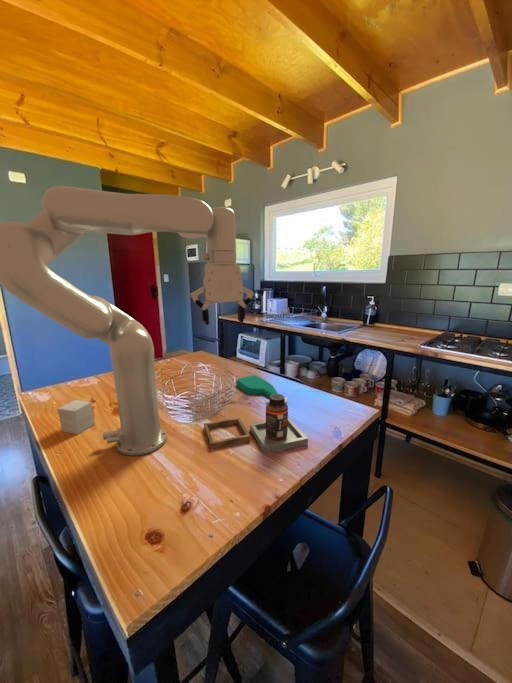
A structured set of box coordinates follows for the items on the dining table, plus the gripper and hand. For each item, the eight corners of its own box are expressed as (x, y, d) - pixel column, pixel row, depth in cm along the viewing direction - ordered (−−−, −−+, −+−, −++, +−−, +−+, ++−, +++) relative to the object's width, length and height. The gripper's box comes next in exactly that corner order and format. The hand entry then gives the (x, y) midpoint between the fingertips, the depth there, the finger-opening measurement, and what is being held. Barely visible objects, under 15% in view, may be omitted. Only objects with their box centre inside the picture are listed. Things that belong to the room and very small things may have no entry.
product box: (95, 424, 87) (91, 401, 85) (77, 435, 81) (73, 411, 79) (79, 421, 89) (75, 399, 87) (61, 431, 83) (56, 408, 81)
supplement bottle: (286, 442, 76) (287, 402, 73) (264, 439, 77) (264, 400, 74) (288, 430, 82) (289, 392, 79) (267, 428, 83) (267, 391, 80)
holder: (210, 448, 74) (210, 443, 74) (204, 428, 84) (204, 423, 84) (250, 440, 78) (250, 435, 77) (239, 421, 87) (239, 417, 87)
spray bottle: (256, 380, 121) (294, 403, 101) (233, 386, 115) (268, 411, 95) (256, 373, 120) (294, 395, 100) (233, 379, 115) (268, 403, 95)
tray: (264, 454, 72) (265, 447, 72) (250, 429, 83) (250, 424, 83) (307, 444, 76) (308, 438, 75) (288, 422, 87) (288, 417, 86)
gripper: (190, 258, 70) (194, 327, 74) (257, 258, 76) (257, 323, 80) (187, 259, 77) (190, 322, 81) (248, 259, 83) (249, 318, 87)
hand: (224, 322), depth 81 cm, fingers open, 9 cm apart
